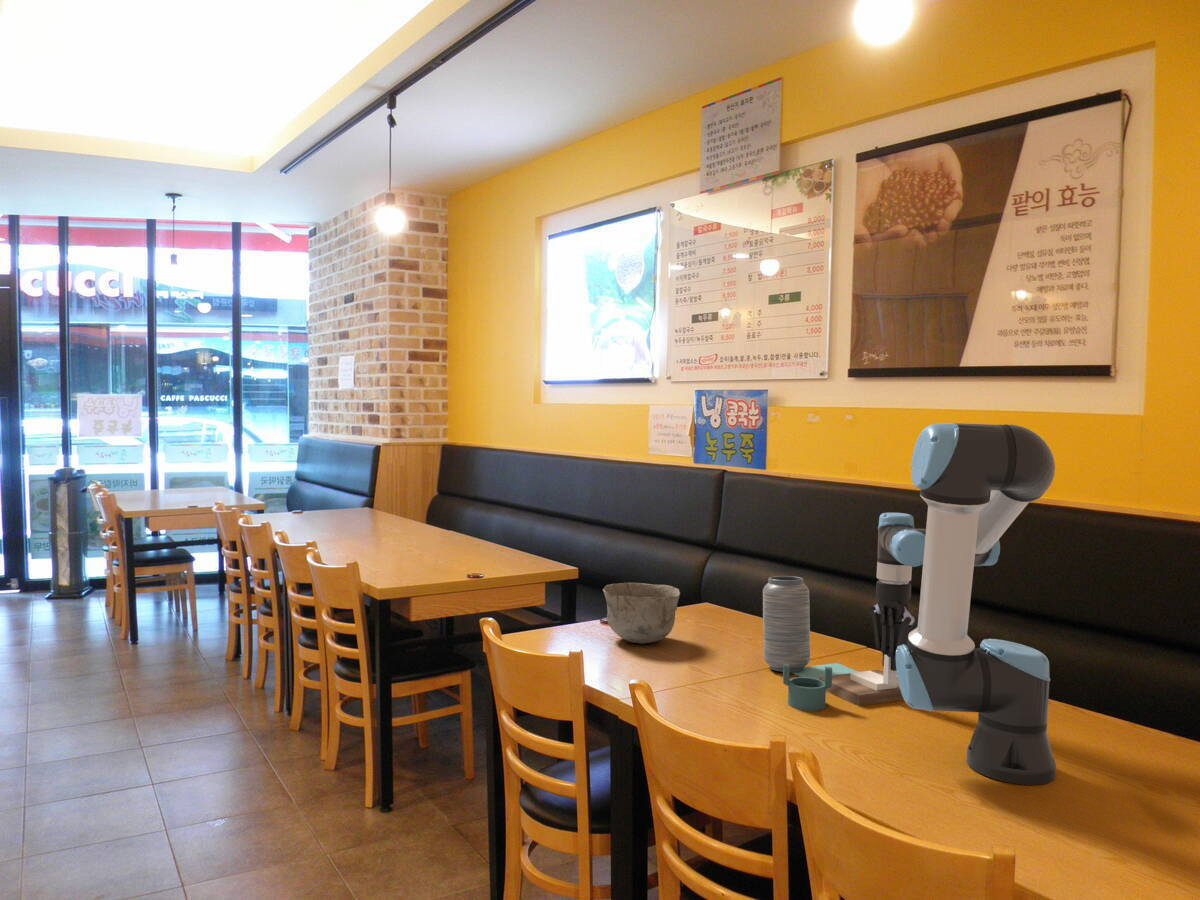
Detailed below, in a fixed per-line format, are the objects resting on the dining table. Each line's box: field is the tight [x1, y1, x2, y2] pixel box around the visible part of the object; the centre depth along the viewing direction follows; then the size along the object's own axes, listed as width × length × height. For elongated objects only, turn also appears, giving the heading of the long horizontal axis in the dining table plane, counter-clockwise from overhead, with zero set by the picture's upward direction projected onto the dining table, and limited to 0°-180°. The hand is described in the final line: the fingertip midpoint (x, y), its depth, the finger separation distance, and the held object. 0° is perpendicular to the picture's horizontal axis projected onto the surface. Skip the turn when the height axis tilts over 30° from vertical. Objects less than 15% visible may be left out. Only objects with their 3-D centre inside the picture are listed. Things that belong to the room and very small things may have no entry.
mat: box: [789, 662, 859, 679], centre depth 220 cm, size 14×16×1 cm
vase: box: [762, 575, 811, 673], centre depth 225 cm, size 12×12×23 cm
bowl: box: [602, 582, 681, 645], centre depth 249 cm, size 22×22×15 cm
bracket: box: [782, 664, 832, 712], centre depth 198 cm, size 9×9×9 cm
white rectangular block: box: [850, 670, 897, 691], centre depth 206 cm, size 9×6×2 cm, turn 24°
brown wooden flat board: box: [819, 669, 904, 707], centre depth 207 cm, size 14×18×2 cm
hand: (889, 682), depth 201 cm, fingers closed
